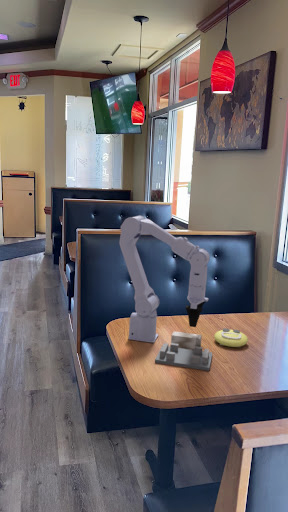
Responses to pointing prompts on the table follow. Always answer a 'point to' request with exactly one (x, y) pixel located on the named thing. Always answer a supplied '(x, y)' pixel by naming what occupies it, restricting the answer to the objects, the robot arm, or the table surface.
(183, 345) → the light grey tapered block
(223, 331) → the emoji
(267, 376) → the table surface
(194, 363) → the cradle
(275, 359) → the table surface
